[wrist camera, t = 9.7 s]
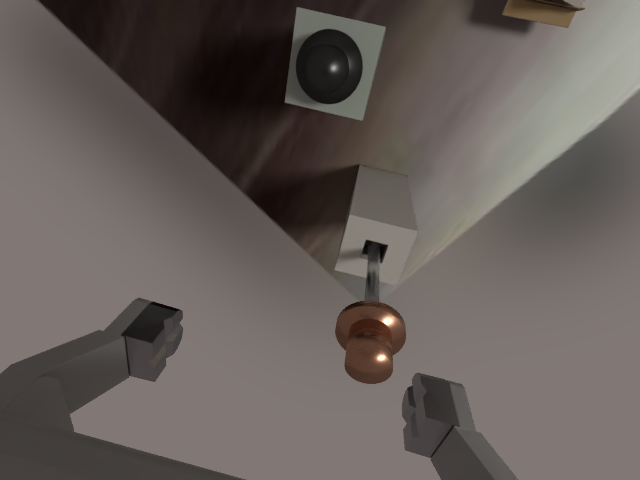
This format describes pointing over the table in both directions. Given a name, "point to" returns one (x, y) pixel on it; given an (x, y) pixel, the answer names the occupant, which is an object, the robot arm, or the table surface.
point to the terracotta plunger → (370, 327)
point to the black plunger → (329, 66)
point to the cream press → (378, 223)
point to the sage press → (370, 48)
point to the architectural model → (543, 11)
